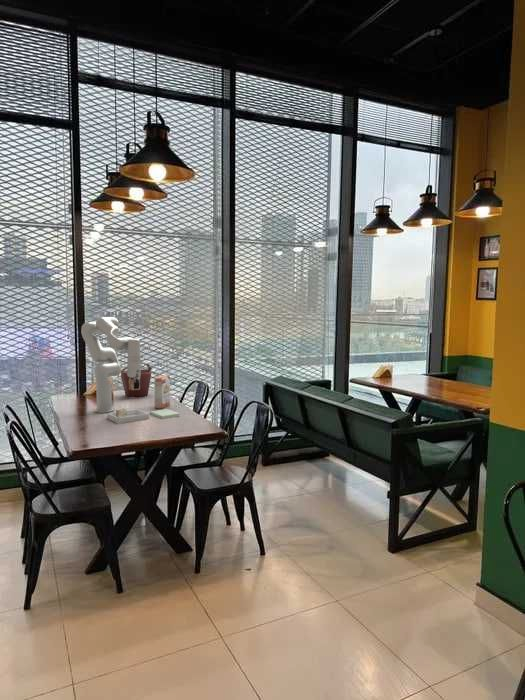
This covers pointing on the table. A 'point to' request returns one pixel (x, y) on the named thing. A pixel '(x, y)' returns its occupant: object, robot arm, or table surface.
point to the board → (164, 413)
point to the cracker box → (162, 391)
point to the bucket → (144, 383)
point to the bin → (129, 416)
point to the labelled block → (131, 384)
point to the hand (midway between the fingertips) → (134, 387)
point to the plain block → (121, 413)
